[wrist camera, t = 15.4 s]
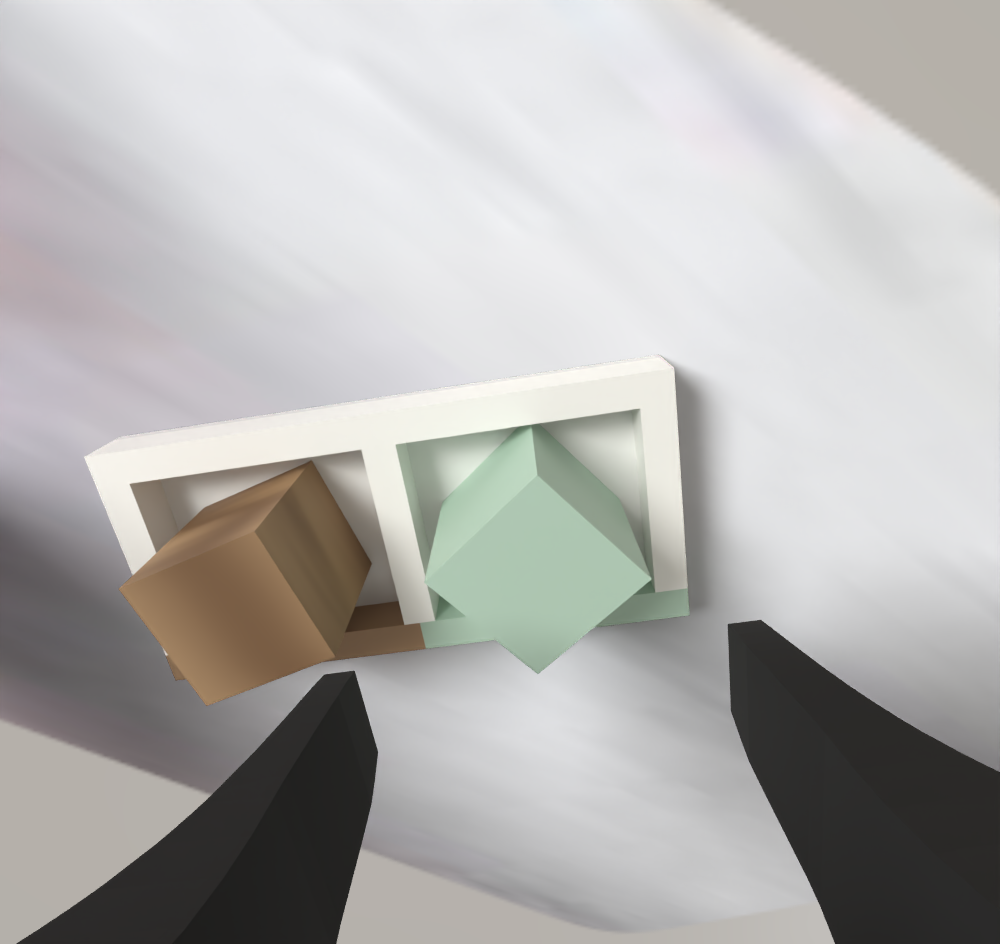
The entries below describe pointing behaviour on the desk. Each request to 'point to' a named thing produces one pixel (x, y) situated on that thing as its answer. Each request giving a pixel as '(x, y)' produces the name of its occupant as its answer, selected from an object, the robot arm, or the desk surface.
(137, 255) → the desk surface
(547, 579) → the sage block
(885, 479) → the desk surface
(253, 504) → the walnut block
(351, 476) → the slot board
